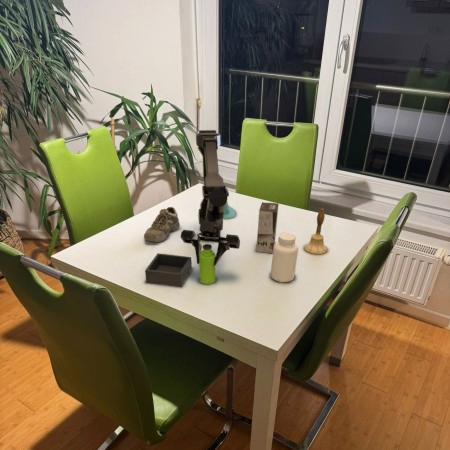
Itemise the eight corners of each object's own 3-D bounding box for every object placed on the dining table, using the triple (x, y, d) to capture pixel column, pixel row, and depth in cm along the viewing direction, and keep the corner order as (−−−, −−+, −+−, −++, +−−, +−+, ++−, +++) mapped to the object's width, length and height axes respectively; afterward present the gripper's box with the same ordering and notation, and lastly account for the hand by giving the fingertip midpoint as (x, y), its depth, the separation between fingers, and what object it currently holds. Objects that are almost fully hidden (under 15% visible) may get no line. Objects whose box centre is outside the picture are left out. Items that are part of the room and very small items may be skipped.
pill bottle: (288, 285, 134) (293, 243, 126) (266, 278, 137) (270, 237, 129) (298, 274, 140) (303, 234, 131) (276, 268, 143) (280, 228, 135)
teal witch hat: (220, 201, 195) (220, 183, 191) (242, 216, 181) (243, 197, 176) (197, 205, 191) (197, 187, 186) (217, 221, 176) (218, 201, 171)
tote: (158, 264, 144) (157, 253, 141) (191, 268, 142) (191, 257, 140) (146, 282, 134) (144, 270, 132) (181, 286, 132) (181, 274, 130)
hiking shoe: (134, 236, 157) (146, 212, 150) (161, 222, 174) (174, 199, 167) (152, 252, 157) (166, 228, 150) (178, 235, 174) (191, 214, 167)
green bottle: (197, 278, 137) (196, 244, 130) (211, 274, 139) (210, 241, 132) (203, 285, 133) (203, 251, 126) (218, 281, 135) (218, 247, 128)
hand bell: (306, 242, 160) (312, 203, 151) (328, 246, 158) (335, 206, 149) (302, 252, 154) (308, 211, 145) (325, 255, 151) (332, 215, 142)
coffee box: (272, 253, 152) (276, 212, 143) (255, 251, 153) (258, 210, 144) (275, 242, 160) (279, 202, 151) (259, 241, 161) (261, 201, 152)
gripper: (180, 205, 128) (171, 253, 125) (239, 211, 125) (232, 260, 122) (188, 219, 138) (180, 264, 136) (243, 225, 135) (236, 270, 133)
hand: (206, 264), depth 131 cm, fingers closed on green bottle, 5 cm apart
